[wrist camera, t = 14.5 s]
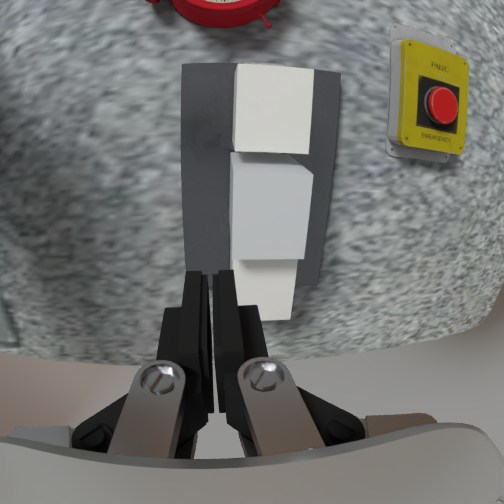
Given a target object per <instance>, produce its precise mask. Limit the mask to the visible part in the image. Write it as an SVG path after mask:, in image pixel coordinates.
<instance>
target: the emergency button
mask: <svg viewBox="0 0 504 504" xmlns="http://www.w3.org/2000/svg"><path fill="white" fill-rule="evenodd" d="M389 39H390V71H389V101H388V118H387V132H386V143H385V147H386V151H387V153H388V154H389V155H391V156H394V157H402V158H411V159H418V160H426V161H433V162H439V163H446V162H447V161H448V160H449V158H450V155H451V154H457V155H458V154H461V153H462V152H463V150H464V144H465V135H466V124H467V111H468V90H469V66H468V63H467V61H466V60H465V59H464V58H462V57H460V56H457V55H456V50H455V47H454V45H453V44H452V43H451V42H449V41H447V40H444V39H442V38H439V37H437V36H434V35H431V34H429V33H426V32H423V31H420V30H417V29H414V28H411V27H408V26H405V25H402V24H398V23H393V24H392V25H391V26H390V29H389Z"/></svg>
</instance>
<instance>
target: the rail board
mask: <svg viewBox="0 0 504 504" xmlns="http://www.w3.org/2000/svg"><path fill="white" fill-rule="evenodd" d="M238 64H260V65H275V66H286V65H284V64H272V63H257V62H244V63H191V64H182V81H181V180H182V209H183V231H184V248H185V263H186V271H202V275H203V274H208V287H211V286H213V282H212V274H218V270H230V222H229V203H230V154H231V152H238V153H273V154H289V155H290V156H291V157H293V158H294V159H295V160H296V161H297V162H299V163H300V164H301V165H302V166H304V167H305V168H306V169H307V170H308V171H310V172H311V173H312V174H313V184H312V194H311V203H310V212H309V221H308V230H307V238H306V246H305V254H304V259H298V263H297V271H296V279H295V285H317V283H318V277H319V271H320V265H321V258H322V252H323V245H324V238H325V231H326V224H327V217H328V209H329V201H330V193H331V185H332V176H333V167H334V157H335V147H336V136H337V124H338V111H339V96H340V79H341V73H336V72H330V71H323V70H316V69H314V80H313V98H312V114H311V128H310V142H309V154H296V153H276V152H242V151H235V150H234V146H233V142H232V135H233V104H234V76H235V70H236V67H237V65H238ZM287 67H290V66H287ZM297 68H299V67H297ZM306 69H308V68H306Z"/></svg>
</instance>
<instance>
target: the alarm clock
mask: <svg viewBox="0 0 504 504" xmlns="http://www.w3.org/2000/svg"><path fill="white" fill-rule="evenodd" d="M146 1H147V2H149V3H158V2H159V1H160V0H146ZM171 2H172V4H173V5H174V7H175V8H176V9H177V10H178V12H179V13H181V14H182V15H183V16H184V17H186V18H187V19H189V20H191V21H193V22H195V23H198V24H200V25H204V26H209V27H217V28H227V27H235V26H240V25H244V24H247V23H250V22H252V21H254V20H256V19H258V18H260V17H261V18H262V19H263V21H264V22H265V23H266V24H267V28H270V27H272V25H271V24H269V23H268V22H267V20H266V19H265V18H264V16H263V15H264V14H265V13H266V12H268V11H269V10H270V9H271V8H272V6H273V5H276V6H277V5H278V3H279V2H280V0H171Z"/></svg>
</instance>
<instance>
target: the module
mask: <svg viewBox="0 0 504 504" xmlns="http://www.w3.org/2000/svg"><path fill="white" fill-rule="evenodd" d="M312 184H313V174H312V173H311V172H310V171H308V170H307V169H306V168H305V167H304V166H302V165H301V164H300V163H299V162H297V161H296V160H295V159H294V158H293V157H291V156H290V155H289V154H273V153H238V152H231V154H230V203H229V222H230V238H231V254H232V260H254V259H304V254H305V246H306V238H307V230H308V221H309V212H310V203H311V194H312Z"/></svg>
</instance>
